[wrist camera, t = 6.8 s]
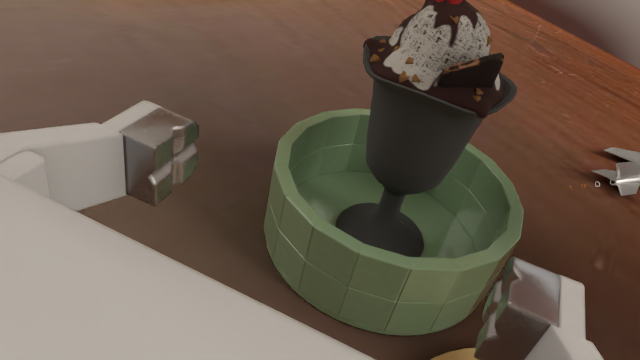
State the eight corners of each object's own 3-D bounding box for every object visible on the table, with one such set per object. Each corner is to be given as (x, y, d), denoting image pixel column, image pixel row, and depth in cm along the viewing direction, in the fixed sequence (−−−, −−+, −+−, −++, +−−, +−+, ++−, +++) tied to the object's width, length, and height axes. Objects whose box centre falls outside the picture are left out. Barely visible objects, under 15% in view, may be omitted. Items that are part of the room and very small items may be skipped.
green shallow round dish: (382, 151, 35) (400, 93, 32) (533, 276, 28) (573, 216, 25) (220, 201, 28) (226, 132, 25) (368, 385, 21) (398, 318, 18)
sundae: (345, 180, 31) (419, -89, 22) (450, 225, 30) (576, -44, 20) (297, 244, 26) (368, -70, 17) (420, 303, 24) (570, -8, 15)
